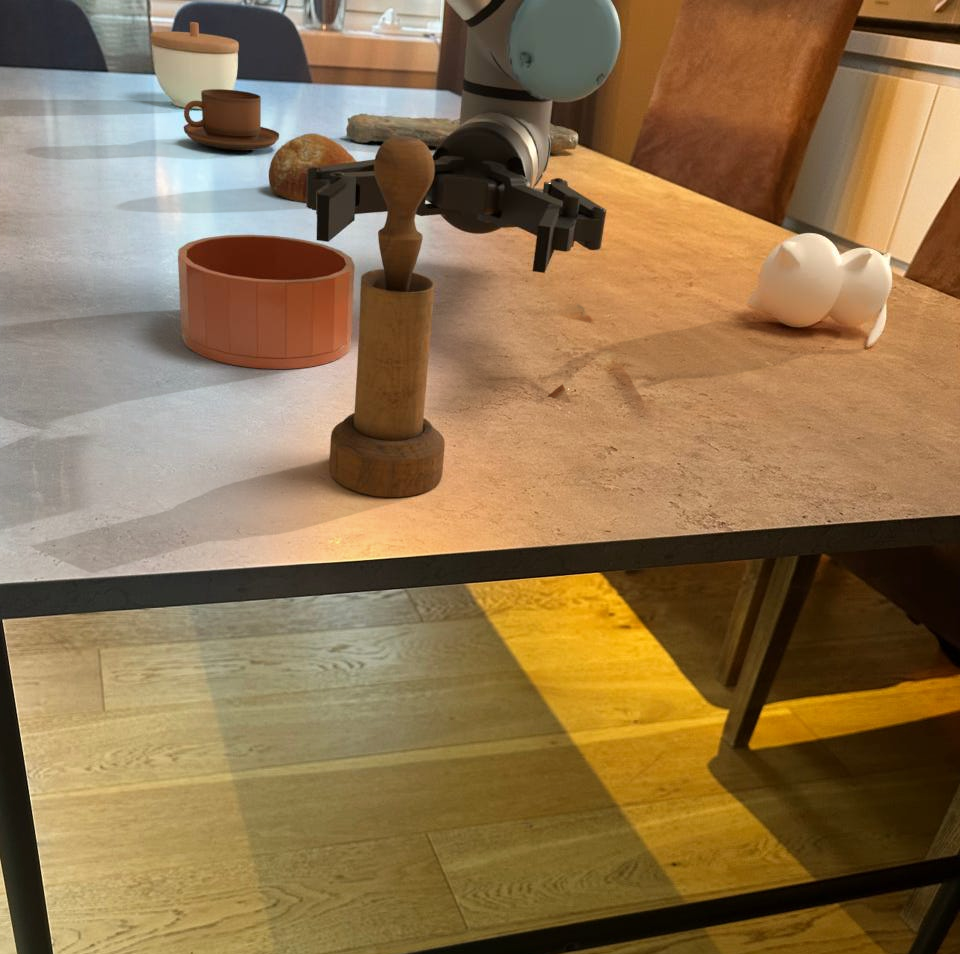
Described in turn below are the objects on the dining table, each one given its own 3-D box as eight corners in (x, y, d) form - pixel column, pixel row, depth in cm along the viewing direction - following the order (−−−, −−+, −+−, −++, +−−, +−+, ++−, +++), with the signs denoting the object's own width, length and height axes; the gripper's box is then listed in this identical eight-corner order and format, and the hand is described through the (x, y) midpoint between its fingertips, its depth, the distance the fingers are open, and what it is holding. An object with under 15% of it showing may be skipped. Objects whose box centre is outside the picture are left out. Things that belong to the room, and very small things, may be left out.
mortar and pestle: (402, 509, 59) (426, 156, 50) (306, 475, 62) (311, 132, 52) (462, 470, 64) (495, 143, 55) (371, 440, 67) (387, 121, 57)
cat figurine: (904, 219, 95) (776, 204, 93) (929, 316, 91) (796, 302, 88) (854, 288, 103) (735, 276, 100) (875, 380, 98) (752, 369, 96)
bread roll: (311, 214, 129) (285, 144, 126) (384, 189, 124) (360, 115, 121) (270, 230, 121) (242, 155, 118) (347, 203, 116) (320, 124, 113)
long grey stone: (339, 142, 158) (353, 160, 150) (338, 102, 155) (353, 119, 147) (562, 141, 167) (586, 158, 160) (566, 104, 164) (591, 119, 157)
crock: (146, 342, 77) (140, 256, 74) (245, 304, 87) (244, 226, 83) (293, 382, 74) (294, 293, 70) (379, 337, 83) (384, 257, 80)
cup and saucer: (228, 159, 133) (227, 104, 130) (164, 140, 139) (161, 87, 135) (298, 152, 142) (299, 100, 138) (235, 135, 147) (234, 84, 144)
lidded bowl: (244, 104, 170) (243, 23, 164) (234, 116, 160) (232, 31, 154) (162, 95, 169) (157, 14, 163) (146, 107, 158) (141, 21, 152)
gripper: (635, 246, 85) (623, 324, 67) (326, 202, 87) (235, 267, 69) (653, 142, 81) (646, 196, 63) (328, 99, 83) (232, 140, 65)
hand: (431, 233), depth 66 cm, fingers open, 13 cm apart
